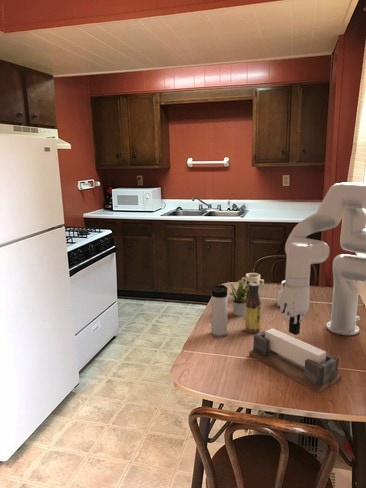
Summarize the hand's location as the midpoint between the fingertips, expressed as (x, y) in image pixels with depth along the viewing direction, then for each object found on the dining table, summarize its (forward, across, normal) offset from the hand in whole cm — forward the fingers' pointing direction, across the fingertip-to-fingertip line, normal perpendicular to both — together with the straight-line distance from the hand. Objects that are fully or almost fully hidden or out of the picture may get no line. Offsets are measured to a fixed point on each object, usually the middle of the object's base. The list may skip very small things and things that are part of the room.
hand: (294, 332), depth 132 cm
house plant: (+12, -18, -42) cm, 47 cm away
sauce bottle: (+13, -10, -28) cm, 32 cm away
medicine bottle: (+12, -43, -37) cm, 58 cm away
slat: (+9, 0, 0) cm, 9 cm away
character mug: (+12, -35, -52) cm, 64 cm away
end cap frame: (+12, 0, 0) cm, 13 cm away
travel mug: (+13, +3, -34) cm, 36 cm away
